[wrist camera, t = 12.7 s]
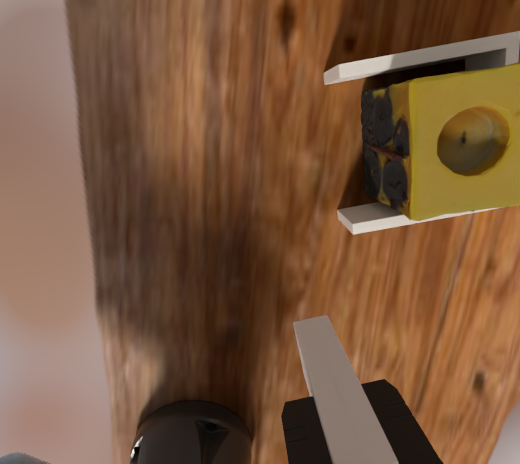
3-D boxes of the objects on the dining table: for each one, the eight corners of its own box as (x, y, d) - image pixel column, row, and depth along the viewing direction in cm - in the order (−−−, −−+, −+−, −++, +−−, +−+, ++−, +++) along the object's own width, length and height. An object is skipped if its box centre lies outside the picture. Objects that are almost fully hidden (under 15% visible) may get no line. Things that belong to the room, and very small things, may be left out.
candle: (460, 181, 34) (543, 205, 25) (363, 197, 34) (409, 227, 25) (465, 73, 31) (564, 53, 21) (357, 91, 31) (409, 78, 21)
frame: (338, 218, 34) (353, 234, 30) (323, 73, 30) (338, 64, 25) (470, 194, 34) (507, 206, 30) (476, 44, 30) (520, 30, 25)
